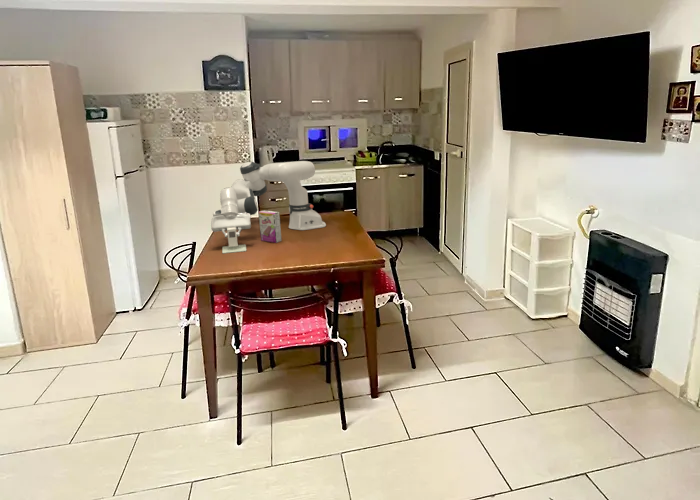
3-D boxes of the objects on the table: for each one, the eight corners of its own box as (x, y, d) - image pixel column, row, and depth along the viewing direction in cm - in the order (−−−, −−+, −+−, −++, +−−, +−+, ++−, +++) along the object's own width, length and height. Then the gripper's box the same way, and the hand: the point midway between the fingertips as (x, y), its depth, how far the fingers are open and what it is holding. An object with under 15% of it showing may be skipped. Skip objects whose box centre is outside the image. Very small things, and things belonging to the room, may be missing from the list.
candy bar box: (260, 241, 267) (257, 211, 262) (266, 238, 271) (263, 210, 266) (276, 243, 262) (273, 213, 257) (282, 241, 266) (279, 211, 261)
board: (245, 245, 260) (245, 244, 260) (246, 251, 249) (246, 250, 249) (222, 247, 258) (222, 246, 258) (222, 253, 247) (222, 252, 246)
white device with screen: (237, 243, 256) (235, 226, 253) (237, 245, 251) (236, 229, 249) (228, 244, 255) (227, 227, 252) (228, 246, 250) (227, 229, 248)
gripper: (250, 215, 262) (252, 237, 256) (211, 218, 258) (212, 241, 252) (249, 209, 257) (252, 231, 251) (209, 212, 252) (211, 235, 246)
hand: (232, 236), depth 251 cm, fingers closed on white device with screen, 4 cm apart
